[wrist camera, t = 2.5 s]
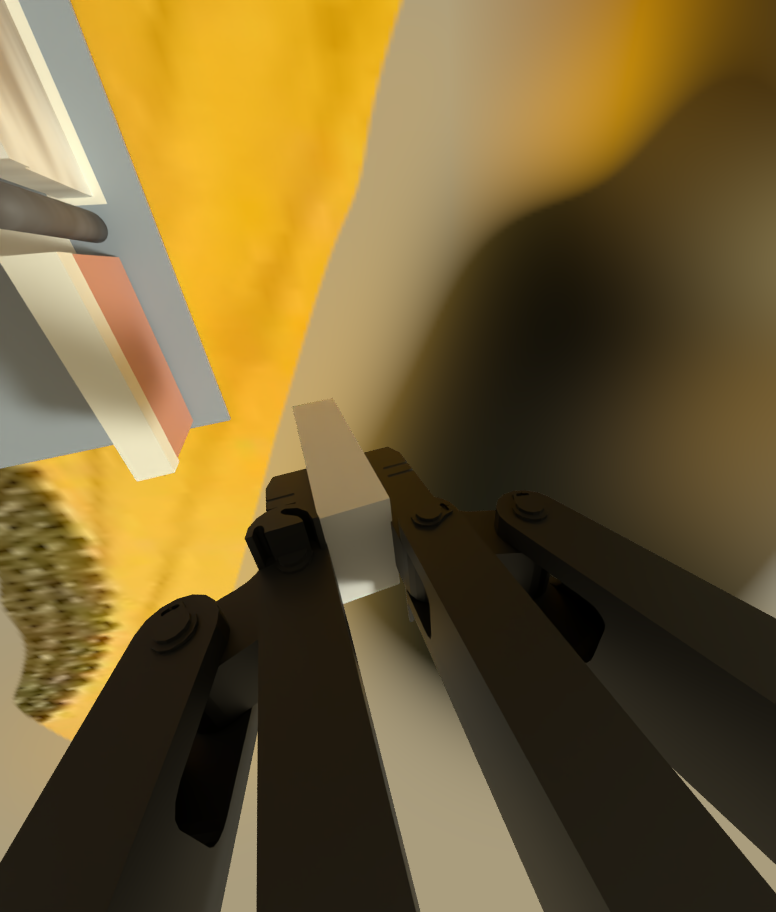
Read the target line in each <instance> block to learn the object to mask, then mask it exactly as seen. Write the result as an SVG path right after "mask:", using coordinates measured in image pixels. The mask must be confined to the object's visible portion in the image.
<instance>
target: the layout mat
mask: <svg viewBox="0 0 776 912" xmlns="http://www.w3.org/2000/svg"><path fill="white" fill-rule="evenodd" d="M4 1H5V3H6V5H7V7H8V9H9V12H10V14H11V16H12V18H13V21H14V23H15V25H16V27H17V29H18V32H19V34H20V36H21V38H22V40H23V43H24V45H25V47H26V49H27V52H28V54H29V56H30V58H31V60H32V63H33V65H34V67H35V69H36V71H37V74H38V76H39V78H40V80H41V83H42V85H43V87H44V89H45V91H46V94H47V96H48V98H49V100H50V102H51V105H52V107H53V109H54V111H55V114H56V116H57V118H58V120H59V122H60V125H61V127H62V129H63V131H64V133H65V136H66V138H67V140H68V142H69V145H70V147H71V149H72V151H73V153H74V156H75V158H76V160H77V162H78V164H79V167H80V169H81V171H82V173H83V176H84V178H85V180H86V182H87V184H88V187H89V189H90V191H91V193H92V195H93V197H86V198H67V199H59V198H56V197H53V196H50V195H48V194H45V193H42V192H39V191H36V190H33V189H30V188H27V187H24V186H22V185H19V184H16V183H13V182H10V181H7V180H4V179H1V178H0V181H2V182H5V183H8V184H11V185H14V186H17V187H20V188H23V189H26V190H29V191H32V192H35V193H38V194H41V195H44V196H47V197H50V198H53V199H56V200H59V201H62V202H65V203H68V204H71V205H74V206H77V207H80V208H83V209H86V210H89V211H91V212H93V213H95V214H97V215H98V216H99V217H100V218H101V219H102V220H103V221H104V222H105V224H106V226H107V229H108V236H107V239H106V240H105V241H104V242H101V243H91V242H84V241H78V240H71V239H64V238H58V237H51V236H45V235H38V234H31V233H25V232H18V231H11V230H5V229H0V256H12V255H23V254H35V253H47V252H66V253H72V254H82V255H95V256H109V257H119V258H120V260H121V263H122V265H123V267H124V269H125V271H126V274H127V276H128V278H129V280H130V282H131V285H132V287H133V289H134V291H135V293H136V296H137V298H138V300H139V302H140V304H141V307H142V309H143V311H144V313H145V316H146V318H147V320H148V322H149V324H150V327H151V329H152V331H153V333H154V335H155V338H156V340H157V342H158V344H159V346H160V349H161V351H162V353H163V355H164V357H165V360H166V362H167V364H168V366H169V368H170V371H171V373H172V375H173V377H174V379H175V382H176V384H177V386H178V388H179V391H180V393H181V395H182V397H183V399H184V402H185V404H186V406H187V408H188V410H189V413H190V415H191V417H192V419H193V423H192V425H191V427H190V428H195V427H200V426H204V425H209V424H214V423H219V422H223V421H228V420H230V419H231V418H230V415H229V413H228V410H227V408H226V405H225V402H224V400H223V397H222V395H221V392H220V389H219V387H218V384H217V382H216V379H215V376H214V374H213V371H212V369H211V366H210V363H209V361H208V358H207V356H206V353H205V350H204V348H203V345H202V343H201V340H200V337H199V335H198V332H197V330H196V327H195V324H194V322H193V319H192V317H191V314H190V311H189V309H188V306H187V304H186V301H185V298H184V296H183V293H182V291H181V288H180V285H179V283H178V280H177V278H176V275H175V272H174V270H173V267H172V265H171V262H170V259H169V257H168V254H167V252H166V249H165V246H164V244H163V241H162V238H161V236H160V233H159V231H158V228H157V225H156V223H155V220H154V218H153V215H152V212H151V210H150V207H149V205H148V202H147V199H146V197H145V194H144V192H143V189H142V186H141V184H140V181H139V179H138V176H137V173H136V171H135V168H134V166H133V163H132V160H131V158H130V155H129V153H128V150H127V147H126V145H125V142H124V140H123V137H122V134H121V132H120V129H119V127H118V124H117V121H116V119H115V116H114V114H113V111H112V108H111V106H110V103H109V101H108V98H107V95H106V93H105V90H104V88H103V85H102V82H101V80H100V77H99V75H98V72H97V69H96V67H95V64H94V62H93V59H92V56H91V54H90V51H89V49H88V46H87V43H86V41H85V38H84V36H83V33H82V30H81V28H80V25H79V22H78V20H77V17H76V15H75V12H74V9H73V7H72V4H71V2H70V0H4ZM109 445H114V444H113V443H112V441H111V439H110V438H109V436H108V435H107V433H106V431H105V430H104V428H103V427H102V425H101V423H100V422H99V420H98V419H97V417H96V415H95V414H94V412H93V411H92V409H91V407H90V406H89V404H88V403H87V401H86V399H85V398H84V396H83V395H82V393H81V391H80V390H79V388H78V387H77V385H76V383H75V382H74V380H73V379H72V377H71V375H70V374H69V372H68V371H67V369H66V367H65V366H64V364H63V363H62V361H61V359H60V358H59V356H58V354H57V353H56V351H55V350H54V348H53V346H52V345H51V343H50V342H49V340H48V338H47V337H46V335H45V334H44V332H43V330H42V329H41V327H40V326H39V324H38V322H37V321H36V319H35V318H34V316H33V314H32V313H31V311H30V310H29V308H28V306H27V305H26V303H25V302H24V300H23V298H22V297H21V295H20V294H19V292H18V290H17V289H16V287H15V286H14V284H13V282H12V281H11V279H10V278H9V276H8V274H7V273H6V271H5V270H4V268H3V266H2V265H1V263H0V468H5V467H10V466H14V465H19V464H24V463H29V462H33V461H38V460H43V459H48V458H52V457H57V456H62V455H67V454H71V453H76V452H81V451H86V450H90V449H95V448H100V447H105V446H109Z"/></svg>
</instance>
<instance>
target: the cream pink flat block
mask: <svg viewBox="0 0 776 912" xmlns="http://www.w3.org/2000/svg"><path fill="white" fill-rule="evenodd" d="M0 263H1V265H2V266H3V268H4V270H5V271H6V273H7V274H8V276H9V278H10V279H11V281H12V282H13V284H14V286H15V287H16V289H17V290H18V292H19V294H20V295H21V297H22V298H23V300H24V302H25V303H26V305H27V306H28V308H29V310H30V311H31V313H32V314H33V316H34V318H35V319H36V321H37V322H38V324H39V326H40V327H41V329H42V330H43V332H44V334H45V335H46V337H47V338H48V340H49V342H50V343H51V345H52V346H53V348H54V350H55V351H56V353H57V354H58V356H59V358H60V359H61V361H62V363H63V364H64V366H65V367H66V369H67V371H68V372H69V374H70V375H71V377H72V379H73V380H74V382H75V383H76V385H77V387H78V388H79V390H80V391H81V393H82V395H83V396H84V398H85V399H86V401H87V403H88V404H89V406H90V407H91V409H92V411H93V412H94V414H95V415H96V417H97V419H98V420H99V422H100V423H101V425H102V427H103V428H104V430H105V431H106V433H107V435H108V436H109V438H110V439H111V441H112V443H113V444H114V446H115V447H116V449H117V451H118V452H119V454H120V455H121V457H122V459H123V460H124V462H125V463H126V465H127V467H128V468H129V470H130V472H131V473H132V475H133V476H134V478H135V480H136V481H141V480H145V479H149V478H154V477H158V476H162V475H166V474H171V473H175V471H176V468H177V466H178V463H179V460H178V456H179V453H180V451H181V449H182V446H183V444H184V442H185V439H186V437H187V434H188V432H189V430H190V427H191V425H192V423H193V419H192V417H191V415H190V413H189V410H188V408H187V406H186V404H185V402H184V399H183V397H182V395H181V393H180V391H179V388H178V386H177V384H176V382H175V379H174V377H173V375H172V373H171V371H170V368H169V366H168V364H167V362H166V360H165V357H164V355H163V353H162V351H161V349H160V346H159V344H158V342H157V340H156V338H155V335H154V333H153V331H152V329H151V327H150V324H149V322H148V320H147V318H146V316H145V313H144V311H143V309H142V307H141V304H140V302H139V300H138V298H137V296H136V293H135V291H134V289H133V287H132V285H131V282H130V280H129V278H128V276H127V274H126V271H125V269H124V267H123V265H122V263H121V260H120V258H119V257H109V256H95V255H82V254H72V253H66V252H47V253H35V254H23V255H12V256H0Z"/></svg>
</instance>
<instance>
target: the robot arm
mask: <svg viewBox="0 0 776 912" xmlns="http://www.w3.org/2000/svg"><path fill="white" fill-rule="evenodd" d="M293 412H294V416H295V420H296V425H297V429H298V434H299V437H300V442H301V447H302V451H303V455H304V459H305V464H306V469H303V470H299V471H295V472H291V473H287V474H284V475H280V476H275V477H273V478H272V479H271V481H270V483H269V484H268V486H267V488H266V511H267V512H266V513H264V514H263V515H261V516H260V517H258V518H257V519H256V520H255V521H254V522H253V523H252V524H251V526H250V527H249V528H248V530H247V533H246V536H245V540H246V542H247V545H248V547H249V549H250V551H251V553H252V555H253V557H254V560H255V562H256V565H257V567H258V569H259V571H258V572H257V573H256V574H255V575H254V576H253V577H252V578H251V579H250V580H249V581H248V582H247V583H245V584H244V585H242V586H241V587H239V588H238V589H236V590H235V591H233V592H231V593H230V594H228V595H226V596H224V597H223V598H221V599H219V600H218V601H215V600H213V599H212V598H210V597H208V596H207V595H189V596H186V597H182V598H179V599H176V600H174V601H173V602H171V603H169V604H167V605H165V606H164V607H162V608H160V609H159V610H158V611H157V612H156V613H154V614H153V615H152V616H151V617H150V618H149V619H147V620H146V621H145V623H144V624H143V625H142V626H141V628H140V629H139V630H138V632H137V633H136V634H135V635H134V637H133V639H132V640H131V642H130V644H129V645H128V647H127V649H126V651H125V652H124V654H123V656H122V657H121V659H120V661H119V662H118V664H117V666H116V668H115V669H114V671H113V673H112V674H111V676H110V678H109V679H108V681H107V683H106V684H105V686H104V688H103V690H102V691H101V693H100V695H99V696H98V698H97V700H96V701H95V703H94V705H93V707H92V708H91V710H90V712H89V713H88V715H87V717H86V718H85V720H84V722H83V723H82V725H81V727H80V729H79V730H78V732H77V734H76V735H75V737H74V739H73V740H72V742H71V744H70V746H69V747H68V749H67V751H66V752H65V754H64V756H63V757H62V759H61V761H60V762H59V764H58V766H57V768H56V769H55V771H54V773H53V774H52V776H51V778H50V779H49V781H48V783H47V784H46V786H45V788H44V790H43V791H42V793H41V795H40V796H39V798H38V800H37V802H36V803H35V805H34V807H33V808H32V810H31V812H30V813H29V815H28V817H27V818H26V820H25V822H24V823H23V825H22V827H21V829H20V830H19V832H18V834H17V835H16V837H15V839H14V840H13V842H12V844H11V846H10V847H9V849H8V851H7V853H6V854H5V856H4V857H3V859H2V861H1V862H0V912H220V911H221V907H222V901H223V897H224V892H225V887H226V882H227V877H228V873H229V867H230V863H231V858H232V852H233V848H234V843H235V838H236V834H237V829H238V823H239V819H240V814H241V809H242V804H243V800H244V795H245V790H246V785H247V780H248V775H249V770H250V765H251V761H252V755H253V750H254V746H255V741H256V736H257V731H258V776H257V778H258V779H257V783H258V784H257V786H258V787H257V912H420V908H419V904H418V900H417V897H416V893H415V888H414V884H413V881H412V877H411V873H410V869H409V864H408V860H407V856H406V853H405V848H404V845H403V840H402V836H401V832H400V829H399V825H398V821H397V817H396V812H395V808H394V804H393V800H392V796H391V793H390V788H389V785H388V781H387V777H386V773H385V769H384V765H383V761H382V757H381V753H380V749H379V745H378V741H377V737H376V733H375V729H374V725H373V721H372V717H371V713H370V709H369V705H368V701H367V697H366V693H365V689H364V685H363V681H362V677H361V673H360V669H359V665H358V661H357V657H356V653H355V649H354V645H353V641H352V637H351V633H350V629H349V625H348V621H347V617H346V614H345V610H344V606H343V604H344V603H347V602H350V601H352V600H355V599H358V598H361V597H364V596H366V595H369V594H372V593H375V592H378V591H380V590H383V589H386V588H389V587H391V586H394V585H397V584H400V580H399V573H400V576H401V578H402V580H403V582H404V584H405V588H406V598H407V606H408V614H409V620H410V622H412V621H414V618H415V620H416V622H417V625H418V627H419V629H420V631H421V634H422V636H423V638H424V641H425V643H426V645H427V647H428V650H429V652H430V654H431V656H432V659H433V661H434V663H435V665H436V668H437V670H438V672H439V674H440V677H441V679H442V681H443V684H444V686H445V688H446V691H447V693H448V695H449V697H450V700H451V702H452V704H453V706H454V709H455V711H456V713H457V715H458V718H459V720H460V722H461V724H462V727H463V729H464V731H465V734H466V736H467V738H468V740H469V743H470V745H471V747H472V750H473V752H474V754H475V756H476V759H477V761H478V763H479V765H480V767H481V769H482V772H483V775H484V777H485V779H486V781H487V784H488V786H489V788H490V790H491V793H492V795H493V797H494V800H495V802H496V804H497V806H498V809H499V811H500V813H501V815H502V818H503V820H504V822H505V824H506V827H507V829H508V831H509V833H510V836H511V838H512V840H513V843H514V845H515V847H516V849H517V852H518V854H519V856H520V859H521V861H522V863H523V865H524V867H525V870H526V872H527V874H528V877H529V879H530V881H531V884H532V886H533V888H534V890H535V893H536V895H537V897H538V899H539V902H540V904H541V906H542V909H543V911H544V912H776V893H775V892H774V891H773V889H772V888H771V887H770V886H769V885H768V883H767V882H766V881H765V880H764V878H763V877H762V876H761V875H760V874H759V873H758V871H757V870H756V869H755V868H754V866H753V865H752V864H751V863H750V862H749V860H748V859H747V858H746V857H745V856H744V854H743V853H742V852H741V851H740V849H738V847H737V846H736V845H735V843H734V842H733V841H732V840H731V839H730V837H729V836H728V835H727V834H726V833H725V831H724V830H723V829H722V828H721V827H720V825H719V824H718V823H717V822H716V821H715V819H714V818H713V817H712V816H711V814H710V813H709V812H708V811H707V810H706V808H705V807H704V806H703V805H702V804H701V802H700V801H699V800H698V799H697V798H696V797H695V795H694V794H693V793H692V791H691V790H690V789H689V788H688V787H687V786H686V784H685V783H684V782H683V781H682V779H681V778H680V777H679V776H678V775H677V773H676V772H675V771H677V772H678V774H680V775H681V776H682V777H683V778H684V779H685V780H686V781H687V782H688V783H689V784H690V785H691V786H692V787H693V788H695V789H696V790H697V791H698V792H699V793H700V794H701V795H702V796H703V797H704V798H705V799H706V800H707V801H708V802H710V803H711V804H712V805H713V806H714V807H715V808H716V809H717V810H718V811H719V812H720V813H721V814H722V815H723V816H725V817H726V818H727V819H728V820H729V821H730V822H731V823H732V824H733V825H734V826H735V827H736V828H737V829H738V830H739V831H741V832H742V833H743V834H744V835H745V836H746V837H747V838H748V839H749V840H750V841H751V842H752V843H753V844H754V845H756V846H757V847H758V848H759V849H760V850H761V851H762V852H763V853H764V854H765V855H767V857H768V858H770V860H772V861H773V862H774V863H775V864H776V619H775V618H774V617H772V616H770V615H768V614H766V613H764V612H762V611H761V610H759V609H757V608H755V607H753V606H751V605H749V604H748V603H746V602H744V601H742V600H740V599H738V598H736V597H734V596H732V595H731V594H729V593H727V592H725V591H723V590H722V589H720V588H718V587H716V586H714V585H712V584H710V583H709V582H707V581H705V580H703V579H701V578H699V577H697V576H696V575H694V574H692V573H690V572H688V571H686V570H684V569H682V568H681V567H679V566H677V565H675V564H673V563H671V562H669V561H668V560H666V559H664V558H662V557H660V556H658V555H656V554H655V553H653V552H651V551H649V550H647V549H645V548H643V547H642V546H639V545H638V544H636V543H634V542H632V541H630V540H629V539H627V538H625V537H623V536H621V535H619V534H617V533H615V532H614V531H612V530H610V529H608V528H606V527H604V526H603V525H601V524H599V523H597V522H595V521H593V520H591V519H589V518H588V517H586V516H584V515H582V514H580V513H578V512H576V511H575V510H573V509H571V508H569V507H567V506H565V505H563V504H562V503H560V502H558V501H556V500H554V499H552V498H550V497H548V496H546V495H543V494H541V493H538V492H533V491H527V490H520V491H511V492H509V493H506V494H503V495H502V496H501V497H500V498H499V499H498V501H497V505H496V510H488V511H459V510H458V509H457V508H456V507H455V506H454V505H453V504H451V503H450V502H449V501H447V500H444V499H441V498H438V497H434V496H433V495H432V494H431V493H430V491H429V490H428V489H427V487H426V486H425V485H424V483H423V482H422V481H421V480H420V478H419V477H418V476H417V474H416V473H415V472H414V471H413V470H412V468H411V467H410V466H409V464H408V463H407V462H406V460H405V459H404V458H403V456H402V455H401V454H400V453H399V452H397V451H395V450H393V449H391V448H389V447H385V448H381V449H377V450H373V451H369V452H365V453H364V452H363V451H362V449H361V447H360V445H359V444H358V442H357V440H356V438H355V437H354V435H353V433H352V431H351V430H350V428H349V426H348V424H347V423H346V421H345V419H344V417H343V416H342V414H341V412H340V410H339V408H338V407H337V405H336V403H335V402H334V400H333V399H332V398H331V399H326V400H322V401H317V402H312V403H307V404H302V405H298V406H293ZM398 571H399V572H398ZM550 574H551V575H553V576H554V577H553V576H551V575H550ZM555 577H556V578H557V579H556V578H555ZM672 768H673V769H674V770H675V771H674V770H673V769H672Z"/></svg>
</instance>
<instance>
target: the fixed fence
mask: <svg viewBox="0 0 776 912" xmlns="http://www.w3.org/2000/svg"><path fill="white" fill-rule="evenodd" d="M0 178H1V179H4V180H7V181H10V182H13V183H16V184H19V185H22V186H24V187H27V188H30V189H33V190H36V191H39V192H42V193H45V194H48V195H50V196H53V197H56V198H59V199H67V198H86V197H93V195H92V193H91V191H90V189H89V187H88V184H87V182H86V180H85V178H84V176H83V173H82V171H81V169H80V167H79V164H78V162H77V160H76V158H75V156H74V153H73V151H72V149H71V147H70V145H69V142H68V140H67V138H66V136H65V133H64V131H63V129H62V127H61V125H60V122H59V120H58V118H57V116H56V114H55V111H54V109H53V107H52V105H51V102H50V100H49V98H48V96H47V94H46V91H45V89H44V87H43V85H42V83H41V80H40V78H39V76H38V74H37V71H36V69H35V67H34V65H33V63H32V60H31V58H30V56H29V54H28V52H27V49H26V47H25V45H24V43H23V40H22V38H21V36H20V34H19V32H18V29H17V27H16V25H15V23H14V21H13V18H12V16H11V14H10V12H9V9H8V7H7V5H6V3H5V1H4V0H0ZM0 229H5V230H11V231H18V232H25V233H31V234H38V235H45V236H51V237H58V238H64V239H71V240H78V241H84V242H91V243H101V242H104V241H105V240H106V239H107V236H108V229H107V226H106V224H105V222H104V221H103V220H102V219H101V218H100V217H99V216H98V215H97V214H95V213H93V212H91V211H89V210H86V209H83V208H80V207H77V206H74V205H71V204H68V203H65V202H62V201H59V200H56V199H53V198H50V197H47V196H44V195H41V194H38V193H35V192H32V191H29V190H26V189H23V188H20V187H17V186H14V185H11V184H8V183H5V182H2V181H0Z"/></svg>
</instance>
